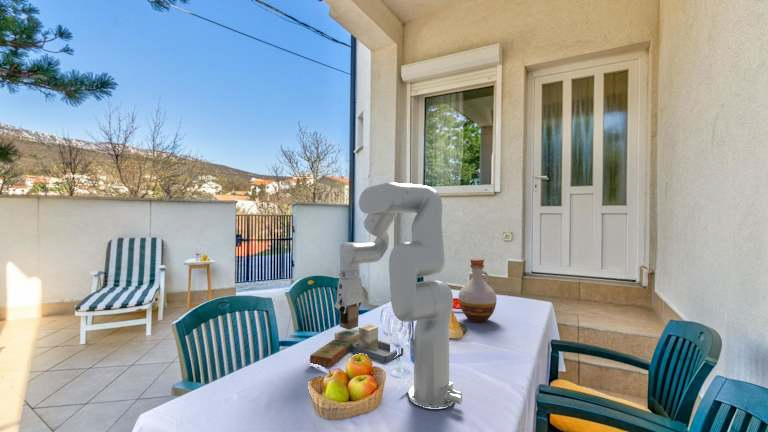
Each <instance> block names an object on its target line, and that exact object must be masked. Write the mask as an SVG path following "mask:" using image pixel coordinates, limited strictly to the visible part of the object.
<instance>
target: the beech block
mask: <svg viewBox="0 0 768 432" xmlns="http://www.w3.org/2000/svg"><path fill="white" fill-rule="evenodd" d="M358 330H359V347H362V348H365V349H368V350H371V351H374V350H377V349H378V340H379V327H378V326H376V325H372V324H365V325H361V326H358Z"/></svg>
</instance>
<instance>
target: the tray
mask: <svg viewBox="0 0 768 432" xmlns="http://www.w3.org/2000/svg"><path fill="white" fill-rule="evenodd" d="M390 344H391V343H388V342H386V341H381V340H379V339H378V349H377V350H374V351H371V350H368V349H365V348H362V347H359V342H358V343H355V344H353V345H351V351H350V352H353V353H356V354H359V353H364V354H367V355H368V356H369V357H368V358H371V359H374V360H377V361H379V362H381V363H385V364H386V363H388V362H390V361H393V360H394V359H395V358H394V357H395V356H396V355H397V350H395V351H393V352H391V353H390ZM403 354H404V347H402V348H401V355H400V356H402V355H403Z"/></svg>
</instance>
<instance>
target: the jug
mask: <svg viewBox="0 0 768 432" xmlns="http://www.w3.org/2000/svg"><path fill="white" fill-rule="evenodd" d="M469 260H470V268H471V271H472V272H471V273H472V277H471V279H470V280H469V281H468V282H467V283H466V284H465V285H464V286H462V287H461V288H460V290H459V292H458V303H459V307H460V308H461V311H462V313H463V314H464V316H465V317H466V318H467V320H468V321H469V322H471V321H472V322H471V323H475V322H477V323H478V324H483V322H484V323H486V322H487V321H488V320H489V319H490V317H491V316H492V315H494V312H495V309H496V305H497V294H496V292H495V291H494V289H493V288H492V287H491V278H490V275H489V273H488V272H487V271H485V270H484V268H485V265H484V263H485V258H482V257H481V258H480V257H473V258H470V259H469ZM483 275H484V276H485V277H486V281H485V280H484V278H483ZM477 323H476V324H477Z"/></svg>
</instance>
